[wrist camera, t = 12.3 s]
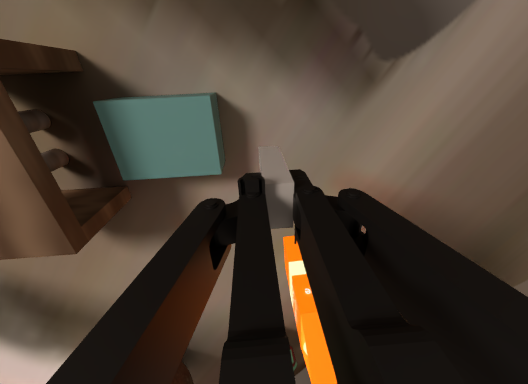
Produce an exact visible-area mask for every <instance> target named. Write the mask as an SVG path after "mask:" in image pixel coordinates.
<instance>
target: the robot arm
mask: <svg viewBox="0 0 528 384" xmlns="http://www.w3.org/2000/svg"><path fill="white" fill-rule="evenodd" d="M259 163H260V173H246V174H245V175H244V176H243V177H241V178H239V179H238V188H239V199H238V200H237V201H235V202H233V203H230V204H226V205H225V202H224V201H223V200H221V199H217V198H210V199H206V200H204V201H202V202H200V203H199V204H198V205H197V206H196V207H195V209H194V210H193V211H192V212H191V213H190V215H189V216H188V217H187V218H186V219H185V220H184V222H183V223H182V224H181V225H180V226H179V228H178V229H177V230H176V231H175V232H174V233H173V235H172V236H171V237H170V238H169V239H168V240H167V242H166V243H165V244H164V245H163V246H162V248H161V249H160V250H159V251H158V252H157V253H156V255H155V256H154V257H153V258H152V259H151V261H150V262H149V263H148V264H147V265H146V266H145V268H144V269H143V270H142V271H141V272H140V273H139V275H138V276H137V277H136V278H135V279H134V281H133V282H132V283H131V284H130V285H129V286H128V288H127V289H126V290H125V291H124V292H123V294H122V295H121V296H120V297H119V298H118V299H117V301H116V302H115V303H114V304H113V305H112V306H111V308H110V309H109V310H108V311H107V312H106V314H105V315H104V316H103V317H102V318H101V319H100V321H99V322H98V323H97V324H96V325H95V327H94V328H93V329H92V330H91V331H90V332H89V334H88V335H87V336H86V337H85V338H84V339H83V341H82V342H81V343H80V344H79V345H78V347H77V348H76V349H75V350H74V351H73V352H72V354H71V355H70V356H69V357H68V358H67V360H66V361H65V362H64V363H63V364H62V365H61V367H60V368H59V369H58V370H57V371H56V372H55V374H54V375H53V376H52V377H51V378H50V380H49V381H48V382H47V383H46V384H171V383H172V380H173V378H174V376H175V374H176V371H177V369H178V367H179V365H180V362H181V360H182V358H183V356H184V353H185V351H186V349H187V347H188V344H189V342H190V340H191V338H192V335H193V333H194V331H195V328H196V326H197V324H198V322H199V319H200V317H201V315H202V313H203V310H204V308H205V306H206V304H207V301H208V299H209V297H210V295H211V292H212V290H213V288H214V286H215V283H216V281H217V279H218V277H219V274H220V272H221V270H222V268H223V265H224V263H225V261H226V259H227V256H228V254H229V252H230V250H231V244H233V243H236V244H235V256H234V269H233V281H232V294H231V306H230V319H229V331H228V338H227V341H226V342H225V343H224V346H223V351H222V359H221V369H220V379H219V384H295V377H294V370H293V364H292V357H291V351H290V345H289V341H288V337H287V336H286V332H285V326H284V319H283V312H282V306H281V299H280V292H279V285H278V278H277V271H276V264H275V257H274V250H273V243H272V236H271V229H276V228H290V227H293V220H294V223H295V239H294V244H296V243H298V246H299V250H300V253H301V257H302V260H303V264H304V267H305V271H306V274H307V278H308V281H309V285H310V288H311V292H312V295H313V299H314V302H315V306H316V309H317V313H318V316H319V320H320V323H321V327H322V330H323V334H324V337H325V341H326V344H327V348H328V351H329V355H330V358H331V362H332V365H333V369H334V372H335V376H336V380H337V384H528V297H527V296H525V295H524V294H522V293H521V292H519V291H517V290H516V289H514V288H513V287H511V286H510V285H508V284H506V283H505V282H503V281H502V280H500V279H499V278H497V277H496V276H494V275H492V274H491V273H489V272H488V271H486V270H485V269H483V268H482V267H480V266H478V265H477V264H475V263H474V262H472V261H471V260H469V259H467V258H466V257H464V256H463V255H461V254H460V253H458V252H457V251H455V250H453V249H452V248H450V247H449V246H447V245H446V244H444V243H443V242H441V241H439V240H438V239H436V238H435V237H433V236H432V235H430V234H428V233H427V232H425V231H424V230H422V229H421V228H419V227H418V226H416V225H414V224H413V223H411V222H410V221H408V220H407V219H405V218H404V217H402V216H400V215H399V214H397V213H396V212H394V211H393V210H391V209H389V208H388V207H386V206H385V205H383V204H382V203H380V202H379V201H377V200H375V199H374V198H372V197H371V196H369V195H368V194H366V193H365V192H362V191H360V190H357V189H353V188H349V189H343V190H341V191H340V192H339V194H338V197H334V196H326V195H324V193H323V191H322V190H321V189H320V188H318V187H316V186H313V185H312V183H311V182H310V180H309V178H308V177H307V175H306V173H305V172H304V171H302V170H300V169H298V170H289V169H288V167H287V164H286V162H285V160H284V157H283V155H282V153H281V150H280V148H279V146H263V147H259ZM362 225H363V226H364V227H365V228H366V233H365V234H364V233H363V232H362V231H361V227H362ZM399 312H400V313H401V314H402V315H403V316H404V317H405V319H406V320H407V321H408V322H409V323H410V324H409V323H407V322H406V321H405V320H404V319H403V317H402V316H401V314H400V313H399Z"/></svg>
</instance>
